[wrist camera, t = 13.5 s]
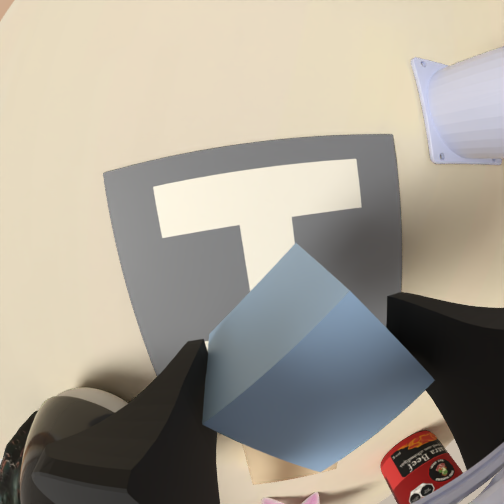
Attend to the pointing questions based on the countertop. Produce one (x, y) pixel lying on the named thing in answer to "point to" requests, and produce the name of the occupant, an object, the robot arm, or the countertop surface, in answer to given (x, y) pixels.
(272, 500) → the lily
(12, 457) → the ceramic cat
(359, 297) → the letter card
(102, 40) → the countertop surface
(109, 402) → the black egg shaped container
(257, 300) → the blue cube
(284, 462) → the oak slab
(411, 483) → the canned food
